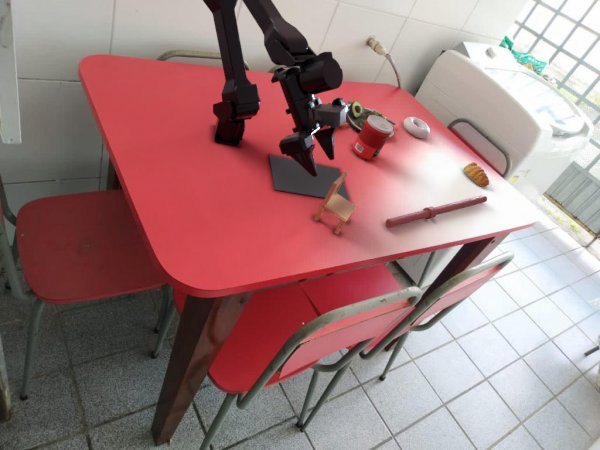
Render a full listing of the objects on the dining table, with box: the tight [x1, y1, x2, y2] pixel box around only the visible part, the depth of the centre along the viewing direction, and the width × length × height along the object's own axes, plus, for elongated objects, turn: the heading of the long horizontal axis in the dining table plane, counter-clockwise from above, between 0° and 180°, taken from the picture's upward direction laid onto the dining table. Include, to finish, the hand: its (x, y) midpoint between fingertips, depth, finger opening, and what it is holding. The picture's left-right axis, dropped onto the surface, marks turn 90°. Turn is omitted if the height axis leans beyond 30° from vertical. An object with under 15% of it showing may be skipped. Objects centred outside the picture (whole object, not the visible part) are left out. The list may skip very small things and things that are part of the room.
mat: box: [268, 154, 351, 202], centre depth 104 cm, size 20×13×1 cm, turn 100°
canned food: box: [352, 115, 394, 162], centre depth 119 cm, size 8×8×11 cm
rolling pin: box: [384, 194, 488, 229], centre depth 114 cm, size 45×3×3 cm, turn 123°
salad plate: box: [346, 100, 396, 138], centre depth 136 cm, size 19×18×5 cm
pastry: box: [463, 161, 490, 188], centre depth 137 cm, size 9×7×4 cm
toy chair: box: [313, 170, 357, 235], centre depth 93 cm, size 7×7×12 cm
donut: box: [403, 116, 431, 139], centre depth 145 cm, size 10×4×10 cm
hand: (324, 167), depth 90 cm, fingers open, 9 cm apart
